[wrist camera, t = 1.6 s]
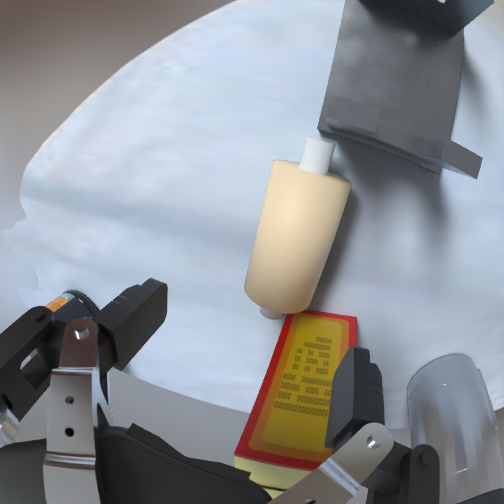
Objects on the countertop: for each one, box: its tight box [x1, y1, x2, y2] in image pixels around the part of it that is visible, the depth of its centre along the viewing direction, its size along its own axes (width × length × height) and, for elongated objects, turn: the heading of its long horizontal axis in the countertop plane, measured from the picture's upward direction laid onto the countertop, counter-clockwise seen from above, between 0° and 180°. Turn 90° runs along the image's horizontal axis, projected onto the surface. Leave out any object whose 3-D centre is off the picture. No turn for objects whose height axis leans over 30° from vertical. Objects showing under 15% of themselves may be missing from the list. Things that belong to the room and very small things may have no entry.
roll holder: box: [317, 0, 494, 179], centre depth 11 cm, size 10×14×8 cm
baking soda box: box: [234, 309, 357, 499], centre depth 20 cm, size 10×6×16 cm
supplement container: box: [29, 290, 99, 358], centre depth 33 cm, size 10×10×12 cm
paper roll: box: [244, 137, 352, 320], centre depth 20 cm, size 14×6×6 cm, turn 168°
